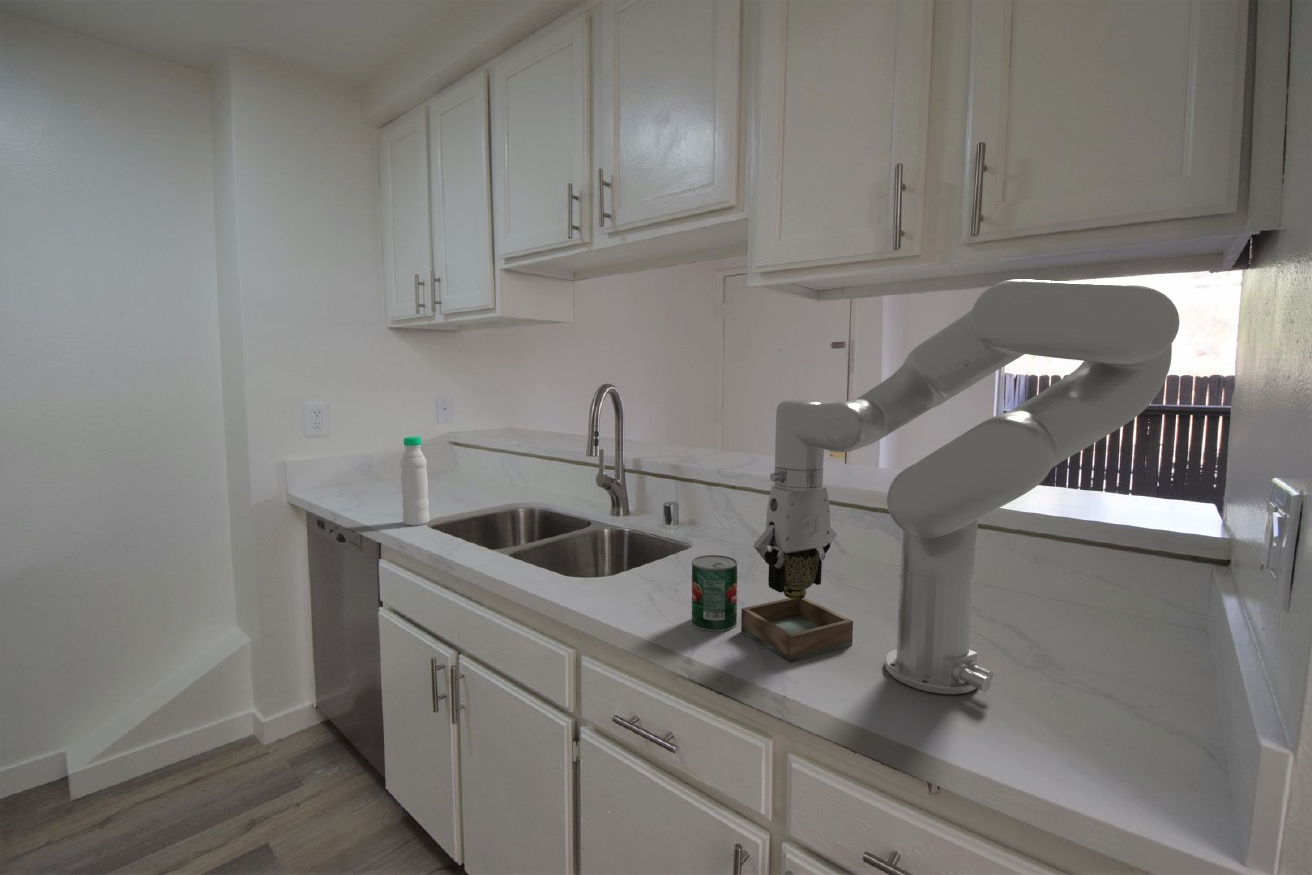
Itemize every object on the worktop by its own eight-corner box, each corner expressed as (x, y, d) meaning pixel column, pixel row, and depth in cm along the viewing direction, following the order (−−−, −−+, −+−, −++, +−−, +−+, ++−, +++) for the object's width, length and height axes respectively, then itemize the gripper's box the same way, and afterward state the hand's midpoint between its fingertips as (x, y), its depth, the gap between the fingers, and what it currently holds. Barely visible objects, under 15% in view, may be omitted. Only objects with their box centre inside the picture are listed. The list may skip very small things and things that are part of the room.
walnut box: (852, 645, 99) (853, 620, 99) (790, 662, 93) (790, 636, 93) (799, 617, 110) (800, 595, 110) (741, 631, 104) (741, 608, 104)
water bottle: (423, 519, 184) (419, 435, 181) (433, 523, 179) (429, 437, 176) (399, 523, 179) (395, 437, 177) (409, 527, 174) (404, 439, 171)
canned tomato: (684, 617, 110) (684, 557, 109) (724, 611, 113) (724, 552, 112) (702, 635, 103) (703, 570, 102) (745, 628, 106) (745, 565, 104)
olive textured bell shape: (819, 606, 97) (821, 557, 96) (771, 602, 98) (772, 553, 97) (816, 590, 104) (818, 543, 103) (772, 586, 105) (773, 540, 105)
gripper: (769, 486, 91) (766, 602, 94) (856, 477, 99) (851, 584, 102) (739, 478, 98) (737, 587, 100) (823, 470, 106) (819, 571, 108)
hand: (794, 585), depth 101 cm, fingers closed on olive textured bell shape, 6 cm apart
